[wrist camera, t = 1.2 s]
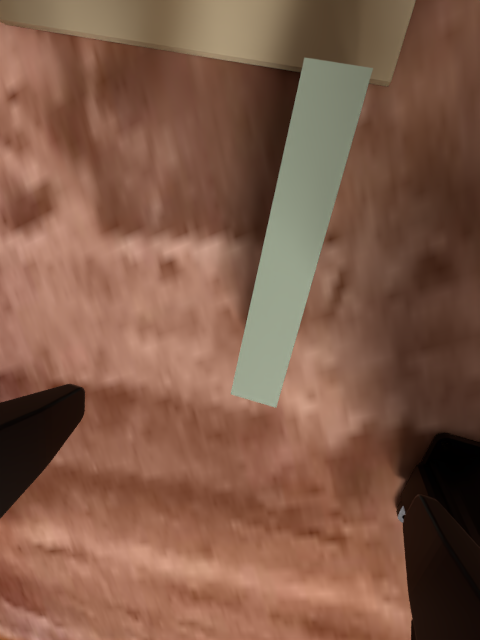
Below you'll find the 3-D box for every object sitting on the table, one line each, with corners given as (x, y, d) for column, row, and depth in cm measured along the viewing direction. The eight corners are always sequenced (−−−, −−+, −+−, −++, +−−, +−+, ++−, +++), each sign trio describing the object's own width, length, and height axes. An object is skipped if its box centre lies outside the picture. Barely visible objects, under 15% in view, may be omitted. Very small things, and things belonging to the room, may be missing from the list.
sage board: (355, 110, 14) (372, 68, 10) (286, 356, 19) (276, 407, 14) (309, 102, 14) (304, 57, 10) (251, 346, 19) (230, 393, 14)
